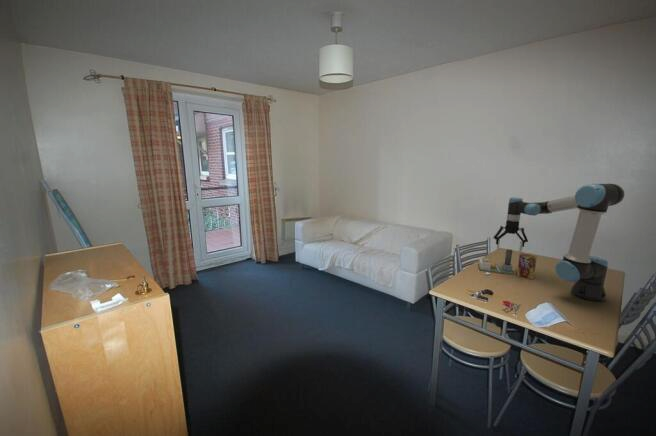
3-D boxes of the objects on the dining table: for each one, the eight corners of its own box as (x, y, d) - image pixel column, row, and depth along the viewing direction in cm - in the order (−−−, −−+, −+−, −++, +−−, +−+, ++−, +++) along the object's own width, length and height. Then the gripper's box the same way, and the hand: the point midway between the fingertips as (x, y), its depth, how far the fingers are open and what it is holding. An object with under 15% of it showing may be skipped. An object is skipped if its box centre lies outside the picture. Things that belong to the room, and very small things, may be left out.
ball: (496, 269, 205) (497, 264, 205) (490, 268, 207) (491, 263, 206) (495, 267, 209) (496, 262, 208) (489, 266, 210) (490, 262, 209)
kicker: (511, 271, 201) (514, 251, 198) (503, 270, 203) (506, 250, 200) (510, 268, 206) (512, 249, 204) (502, 267, 208) (504, 248, 205)
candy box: (534, 278, 192) (537, 255, 190) (532, 279, 190) (535, 257, 187) (518, 274, 199) (521, 252, 196) (516, 275, 197) (519, 253, 194)
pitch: (512, 274, 198) (513, 267, 197) (480, 270, 205) (480, 263, 204) (508, 268, 210) (509, 261, 209) (477, 264, 217) (478, 257, 216)
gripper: (533, 220, 197) (528, 250, 201) (491, 217, 206) (487, 246, 210) (536, 222, 190) (531, 253, 194) (493, 219, 199) (489, 249, 203)
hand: (508, 250), depth 202 cm, fingers open, 13 cm apart
